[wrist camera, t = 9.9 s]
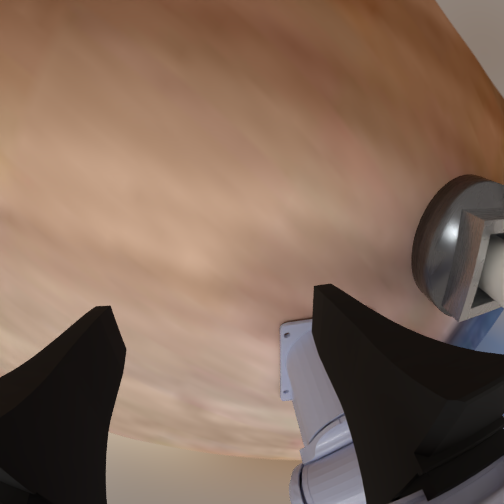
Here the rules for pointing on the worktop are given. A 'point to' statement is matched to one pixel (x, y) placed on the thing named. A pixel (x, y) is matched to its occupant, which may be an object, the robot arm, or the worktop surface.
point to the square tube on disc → (458, 245)
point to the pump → (494, 270)
